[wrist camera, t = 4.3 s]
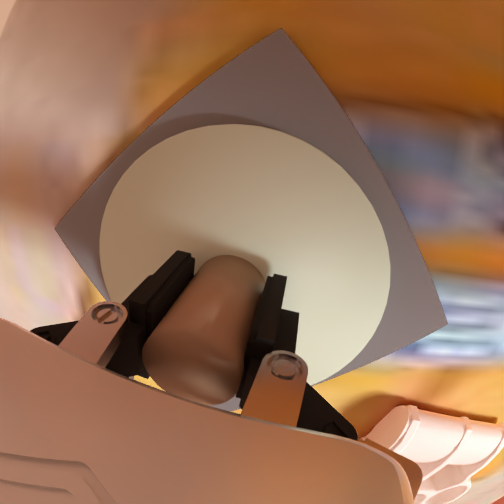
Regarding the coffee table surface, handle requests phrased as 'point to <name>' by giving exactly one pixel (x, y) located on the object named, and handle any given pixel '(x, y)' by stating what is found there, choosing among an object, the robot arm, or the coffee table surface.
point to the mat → (301, 126)
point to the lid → (245, 252)
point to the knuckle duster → (439, 448)
